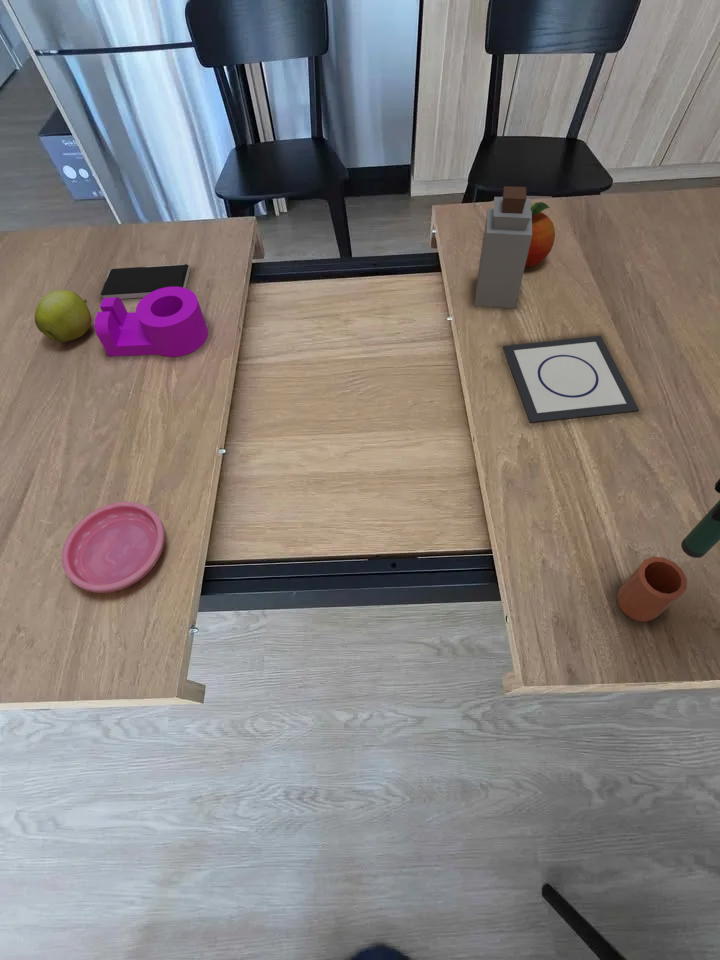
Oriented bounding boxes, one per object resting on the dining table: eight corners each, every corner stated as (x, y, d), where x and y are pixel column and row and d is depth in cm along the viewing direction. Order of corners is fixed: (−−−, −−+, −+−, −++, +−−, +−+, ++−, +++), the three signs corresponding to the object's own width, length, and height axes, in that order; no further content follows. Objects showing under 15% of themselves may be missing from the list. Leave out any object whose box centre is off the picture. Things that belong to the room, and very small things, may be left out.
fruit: (485, 253, 103) (493, 200, 95) (528, 238, 105) (540, 186, 97) (514, 281, 98) (525, 229, 90) (558, 266, 100) (574, 213, 92)
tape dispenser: (211, 315, 96) (201, 285, 91) (203, 355, 91) (192, 325, 86) (121, 319, 97) (106, 289, 92) (107, 359, 91) (90, 330, 86)
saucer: (64, 537, 73) (52, 525, 70) (156, 498, 76) (147, 485, 73) (83, 617, 66) (71, 608, 64) (182, 572, 69) (174, 561, 67)
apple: (110, 323, 96) (90, 284, 90) (75, 357, 92) (51, 319, 85) (76, 312, 99) (53, 273, 92) (40, 345, 94) (14, 307, 87)
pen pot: (650, 580, 66) (675, 553, 60) (667, 619, 63) (695, 596, 57) (610, 584, 66) (631, 558, 60) (625, 624, 63) (649, 601, 57)
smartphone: (110, 268, 104) (188, 263, 103) (112, 273, 105) (190, 268, 104) (99, 295, 99) (182, 290, 99) (102, 301, 100) (184, 296, 100)
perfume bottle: (515, 308, 94) (538, 206, 79) (475, 305, 95) (491, 204, 80) (515, 283, 98) (538, 181, 83) (476, 281, 99) (492, 179, 84)
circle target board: (600, 336, 89) (601, 334, 89) (638, 411, 80) (639, 409, 80) (502, 347, 89) (503, 345, 89) (529, 423, 80) (530, 421, 80)
